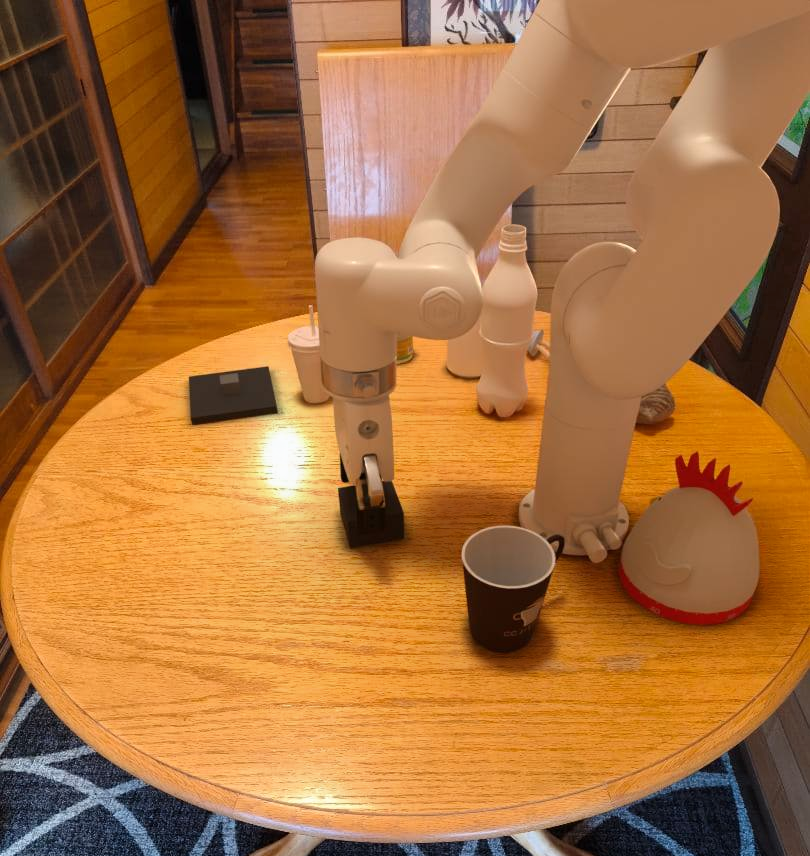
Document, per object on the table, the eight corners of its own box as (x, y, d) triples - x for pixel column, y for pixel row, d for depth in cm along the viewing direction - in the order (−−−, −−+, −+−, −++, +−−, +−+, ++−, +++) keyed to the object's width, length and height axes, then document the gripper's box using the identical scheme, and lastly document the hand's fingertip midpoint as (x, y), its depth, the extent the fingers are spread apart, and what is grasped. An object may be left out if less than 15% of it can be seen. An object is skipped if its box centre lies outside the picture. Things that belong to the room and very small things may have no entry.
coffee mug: (473, 669, 73) (477, 596, 66) (448, 606, 79) (450, 533, 73) (586, 646, 75) (601, 572, 68) (553, 586, 81) (564, 514, 75)
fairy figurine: (559, 357, 112) (485, 332, 116) (552, 385, 115) (481, 360, 119) (585, 326, 119) (515, 303, 123) (578, 353, 123) (510, 330, 126)
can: (494, 380, 114) (499, 303, 107) (447, 380, 115) (449, 304, 107) (490, 357, 120) (495, 283, 112) (445, 358, 120) (447, 284, 112)
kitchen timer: (667, 519, 89) (697, 408, 79) (777, 579, 81) (826, 465, 72) (592, 574, 83) (614, 460, 73) (704, 646, 75) (747, 529, 65)
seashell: (636, 444, 102) (680, 422, 105) (645, 401, 97) (690, 379, 100) (589, 410, 108) (631, 390, 111) (595, 368, 103) (639, 348, 105)
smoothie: (331, 410, 109) (322, 317, 100) (288, 406, 110) (276, 314, 101) (343, 387, 114) (335, 297, 104) (302, 384, 115) (291, 294, 105)
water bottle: (467, 414, 107) (474, 233, 91) (487, 390, 112) (497, 215, 96) (515, 426, 105) (531, 243, 88) (533, 401, 110) (552, 223, 93)
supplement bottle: (373, 352, 122) (370, 294, 115) (404, 345, 123) (402, 287, 117) (387, 367, 118) (384, 307, 112) (418, 360, 120) (418, 300, 113)
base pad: (277, 413, 109) (275, 393, 107) (192, 425, 107) (187, 405, 105) (269, 373, 118) (266, 354, 115) (190, 383, 116) (185, 364, 113)
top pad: (404, 539, 88) (403, 512, 85) (349, 548, 87) (347, 521, 84) (392, 505, 92) (391, 479, 90) (340, 514, 91) (337, 487, 89)
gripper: (416, 411, 70) (412, 549, 82) (377, 329, 83) (378, 458, 94) (335, 420, 69) (342, 560, 80) (309, 335, 82) (318, 465, 93)
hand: (362, 505), depth 87 cm, fingers open, 9 cm apart
